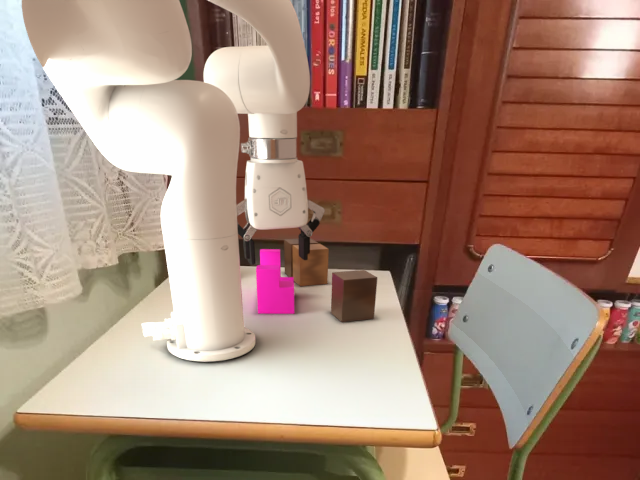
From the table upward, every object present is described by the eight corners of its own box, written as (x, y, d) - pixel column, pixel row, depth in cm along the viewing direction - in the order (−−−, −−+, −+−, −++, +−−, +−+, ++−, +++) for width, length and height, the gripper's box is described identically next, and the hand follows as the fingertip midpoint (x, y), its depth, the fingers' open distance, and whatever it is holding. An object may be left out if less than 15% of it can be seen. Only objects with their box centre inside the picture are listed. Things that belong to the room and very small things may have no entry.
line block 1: (291, 278, 102) (290, 244, 98) (284, 272, 106) (283, 239, 102) (317, 276, 104) (318, 242, 100) (310, 270, 108) (310, 238, 104)
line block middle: (300, 286, 97) (300, 250, 94) (292, 279, 101) (292, 245, 98) (327, 284, 99) (328, 248, 96) (319, 277, 103) (320, 243, 100)
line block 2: (341, 322, 80) (343, 280, 76) (330, 312, 84) (332, 272, 80) (374, 318, 82) (377, 277, 78) (361, 309, 86) (364, 269, 82)
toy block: (294, 313, 83) (294, 269, 79) (258, 313, 83) (255, 269, 79) (293, 288, 96) (293, 249, 92) (262, 288, 96) (260, 249, 92)
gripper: (224, 153, 71) (234, 270, 81) (332, 152, 76) (330, 262, 86) (215, 150, 77) (225, 259, 87) (316, 148, 82) (315, 252, 92)
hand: (277, 260), depth 86 cm, fingers open, 9 cm apart
